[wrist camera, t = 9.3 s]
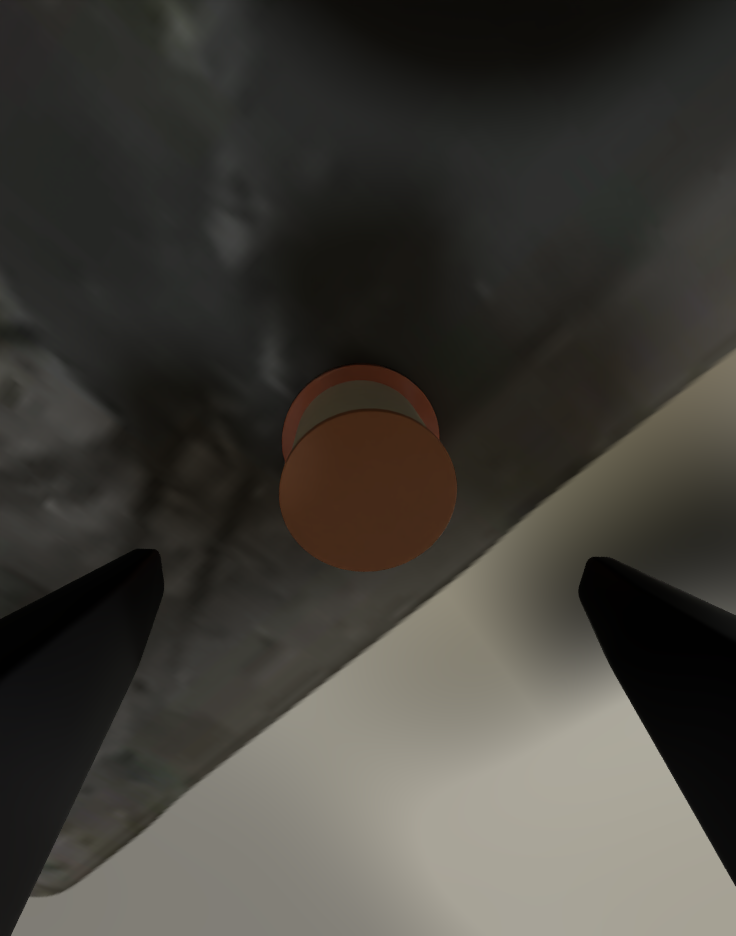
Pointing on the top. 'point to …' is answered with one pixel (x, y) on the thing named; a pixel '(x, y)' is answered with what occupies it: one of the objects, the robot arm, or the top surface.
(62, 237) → the top surface
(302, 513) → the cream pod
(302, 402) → the coaster
